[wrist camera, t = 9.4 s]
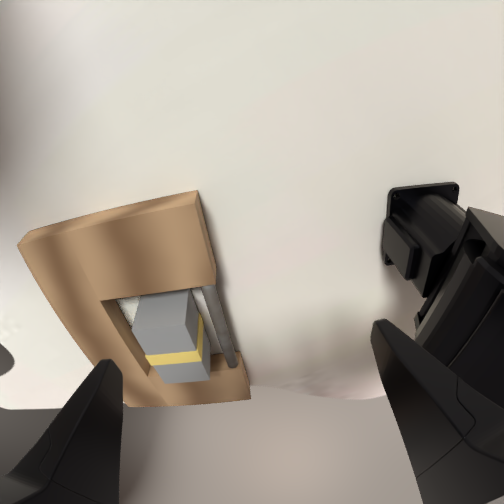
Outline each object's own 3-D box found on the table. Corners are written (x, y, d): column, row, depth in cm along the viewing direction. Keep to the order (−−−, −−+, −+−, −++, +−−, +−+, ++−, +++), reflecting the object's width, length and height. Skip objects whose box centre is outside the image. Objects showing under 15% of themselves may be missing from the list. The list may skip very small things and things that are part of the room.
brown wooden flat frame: (197, 190, 19) (194, 203, 17) (249, 383, 31) (250, 399, 30) (28, 231, 19) (16, 245, 18) (131, 392, 32) (128, 406, 30)
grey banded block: (190, 286, 23) (186, 325, 20) (211, 343, 27) (211, 380, 24) (140, 293, 23) (129, 331, 20) (168, 348, 27) (163, 384, 24)
